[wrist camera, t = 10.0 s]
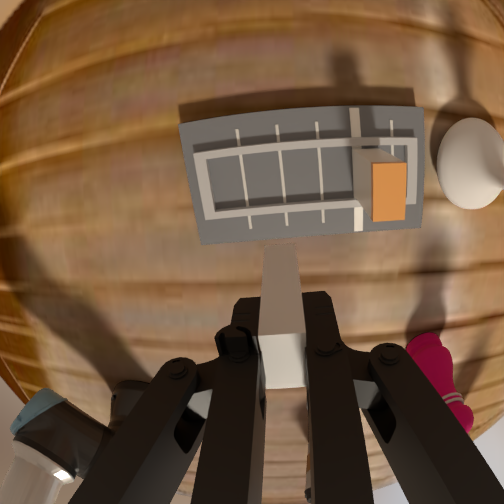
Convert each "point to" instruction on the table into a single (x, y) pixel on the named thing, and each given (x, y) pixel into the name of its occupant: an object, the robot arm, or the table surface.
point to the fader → (379, 184)
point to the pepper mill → (440, 374)
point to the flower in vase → (471, 163)
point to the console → (296, 170)
